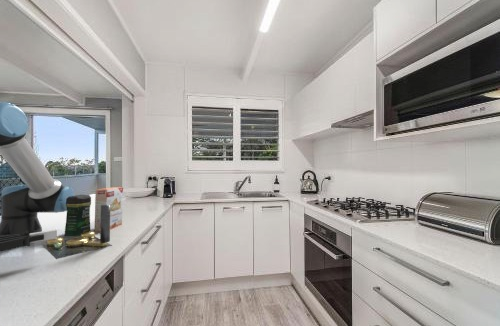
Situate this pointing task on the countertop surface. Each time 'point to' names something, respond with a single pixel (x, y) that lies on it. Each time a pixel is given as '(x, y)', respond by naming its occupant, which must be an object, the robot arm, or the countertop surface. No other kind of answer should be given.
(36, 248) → the countertop surface
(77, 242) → the crank handle
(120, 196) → the cracker box
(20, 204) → the robot arm
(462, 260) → the countertop surface
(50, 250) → the levelling plate
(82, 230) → the coffee jar
